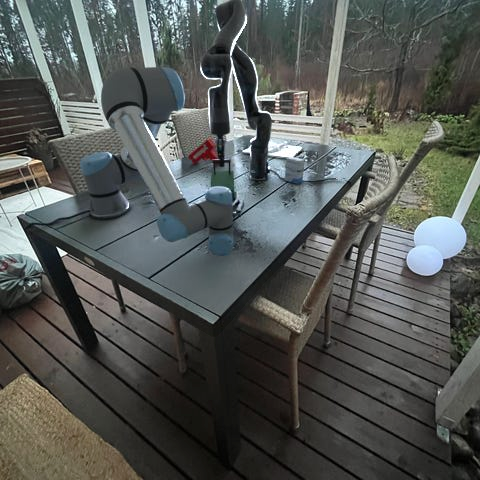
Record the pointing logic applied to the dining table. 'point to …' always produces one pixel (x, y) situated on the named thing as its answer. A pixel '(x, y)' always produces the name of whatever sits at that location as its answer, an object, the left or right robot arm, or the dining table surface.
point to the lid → (222, 177)
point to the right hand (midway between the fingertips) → (221, 165)
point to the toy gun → (204, 152)
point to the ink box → (294, 170)
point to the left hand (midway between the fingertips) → (222, 195)
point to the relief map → (280, 150)
